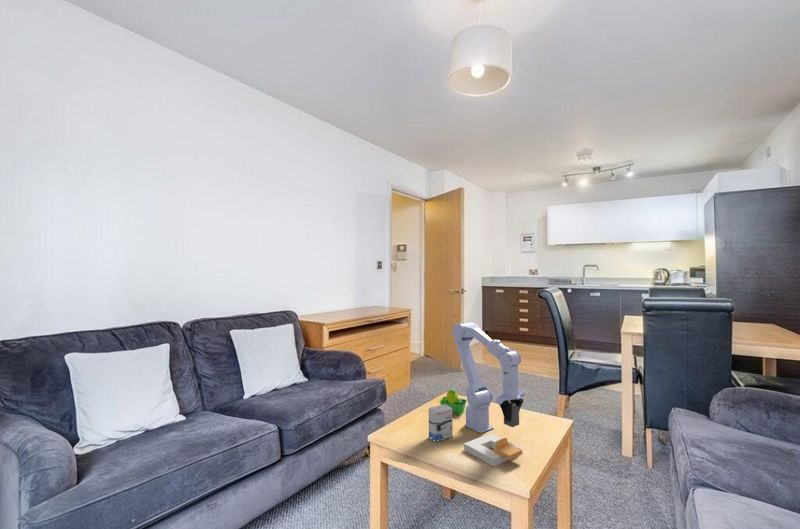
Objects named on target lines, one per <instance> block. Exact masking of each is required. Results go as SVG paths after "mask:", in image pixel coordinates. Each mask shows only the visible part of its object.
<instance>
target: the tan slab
mask: <svg viewBox="0 0 800 529" xmlns="http://www.w3.org/2000/svg"><path fill="white" fill-rule="evenodd" d="M507 441H508V438H507V437H504V438H501V440H498V441H496V447H495V448H493V450H494V452H495V453H497V454H499V455H500V456H502V457H504V458H506V459H508V460H507V461H510V460H513V459H516V458H517V457H520V456H522V455H523V449H521V448H520V449H519V448H517V447H515V446H513V445H510V444H508V443H507Z"/></svg>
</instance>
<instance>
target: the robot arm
mask: <svg viewBox="0 0 800 529" xmlns="http://www.w3.org/2000/svg"><path fill="white" fill-rule="evenodd" d="M451 333H452V336H453V340H454V341H455V347H456V350H457V354H458V356H459V359H460V363H461V364H462V368H463V371H464V374H465V377H466V380H467V383H468V386H467V388H466V390H465V393H466V400H467V401H466V402H467V406H465V424H464V426H465V427H466V428H469V429H471V430H473V431H475V432H477V433H480V434H482V433H485V432H488V431H491V430H493V429H495V428H494V426H492V425H490V407H491V403H492V402H493V398H494V397H493V394H492V391H491V390H490V389H489V387H488V384H487V383H485V382H483V381H482V380H481V376H480V374H479V370H478V368H477V364H476V362H475V359H474V356H473V354H472V350H471V347H470V344H471V342H472V341H473V340H474V339H475V340H477V341H478V342H479V343H481V344H482V345H483V346H486V350H487V352H489V353H490V354H491V355H492V356H493V357H495V358H496V359H497V360H498V363H499V365H500V368H501V371H502V393H501V394H500V395H499V396H497V397H495V403H496V404H498V405H499V407H500V409H501V412H502V414H503V420H504V419H505V420H507V421H510V418H511V409H512V406H513V404H511V403H510V402H512V403H514V404H516V405H517V406H519V412H520V410H521V407H522V405H523V403H524V399H523V398H524V397H525V396H526V392H525V391H524V390H519V365H520V364H521V361H522V358H521V354H520V352H518V351H517V350H514V349H510V348H509V347H507V346H506V345H504V344H503V343H501V340H500V339H492V338H491V337H489V335H487V334H486V333H485V332H484V331H483V330H482V329H481V328H480V326H479V324H476V322H474V321H469V322H461V323H458V322H457V323H455V324H453V327H452V331H451Z"/></svg>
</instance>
